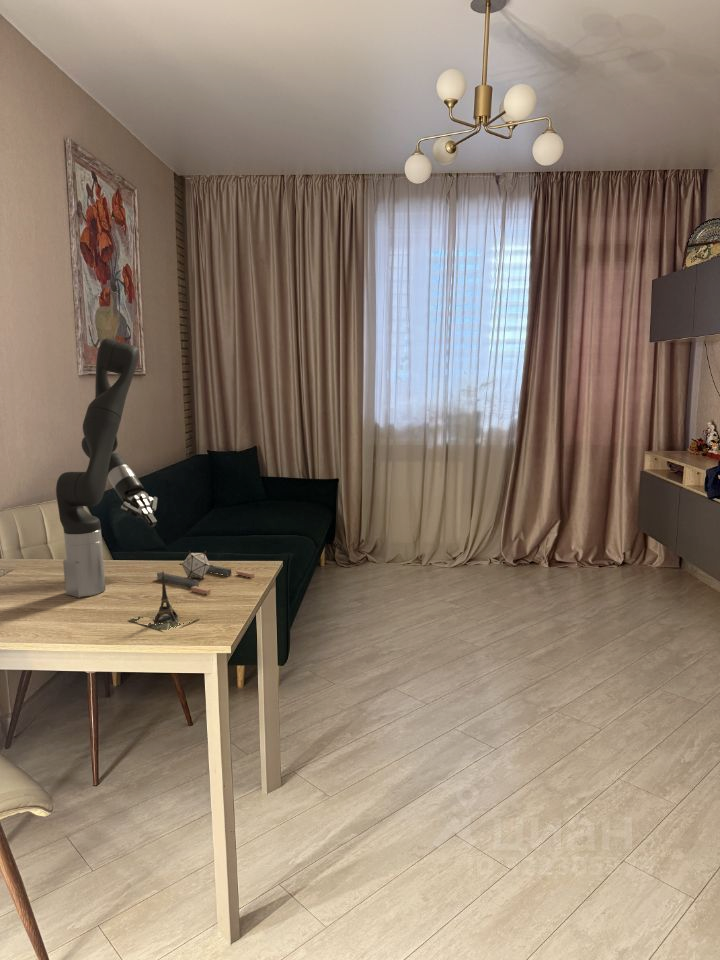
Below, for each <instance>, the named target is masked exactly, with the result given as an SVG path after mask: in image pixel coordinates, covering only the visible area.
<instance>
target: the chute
mask: <svg viewBox="0 0 720 960" xmlns="http://www.w3.org/2000/svg"><path fill="white" fill-rule="evenodd" d="M162 572H163V571H159V572H156V578H157V580H158V581H161V582H162ZM209 572H212V573H211V574H214V573H218V574H223V575H228V576H229V575H231V576H232V569H231V568H227V567H224V566H223V567H222V566H219V565H218V566H217V565H213V567H211V566H210V568H209V569H208V571H207V572H206V573H209ZM218 574H217V575H218ZM223 575H222V576H223ZM228 576H227V577H228ZM229 577H230V576H229ZM164 579H165V583H170V584H173V585H174V584H175V585H179V586H183V587H186V586H187V587H188V588H191V587H194V586H197V587H200V586H199V580H197V579H193V578H190V577H189V578H187V577H185V576H184V577H183V576H179V575H176V574H170V573H166V572H164Z"/></svg>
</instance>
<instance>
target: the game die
mask: <svg viewBox="0 0 720 960" xmlns="http://www.w3.org/2000/svg"><path fill="white" fill-rule="evenodd" d="M206 553H207V550H204V551H203V552H191V550H188V555H187V556H186V558H185V559H184V560H183V562H182V563H181V562H180V563H178V565H179V566H182V568H183V570H184V572H185V574H186V578H189V579H190V578H202V580H205V577H204V576H206V574H207V573H208V572H207V571H208V569H209V568H210V566H211V567H213V566H214V565H213V564H210V562H209V559H208V558H207V555H206Z"/></svg>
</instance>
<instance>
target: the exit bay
mask: <svg viewBox="0 0 720 960" xmlns="http://www.w3.org/2000/svg"><path fill="white" fill-rule="evenodd" d="M235 572H236V573H235V574H238V575H242V576H241V577H243V576H246V577H245V578H248V577H250V578H249V579H254V578H255V573H254V572H249V571H246V570H240V569H239V570H235ZM238 575H237V576H238ZM253 577H254V578H253ZM190 588H191V592H192V591H193V592H192V593H196V592H198V593H197V594H200V593H202V594H201V595H204V594H209V595H211V589H209V588H205V587H201V586H199V587H197V586H194V587H190Z"/></svg>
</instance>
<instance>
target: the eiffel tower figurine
mask: <svg viewBox="0 0 720 960" xmlns="http://www.w3.org/2000/svg"><path fill="white" fill-rule="evenodd" d="M161 572H162V581H161V582H162V583H161V585H162V586H161V587H162V588H161V589H162V590H161V592H162V593H161V599H160V600H161V603H160V606H159V608H158V612H157V614H156V615H155V616H154V617H155V620H154V619H153V620H154V624H151V623H149V624H148V626H147V627H148V628H150V629H155V630H157V631H160V630H167V629H168V630H169V629H170V628H171V627H173V628H174V627H175V626H176V627H177V626H180V625H181V624H180V623H179V625H178V623H177V621H179V618H178V617H180V614H179V613H177V612H176V611H175V610H174V608H173V606H172V605H171V604H170V601H169V597H168V594H167V587H166V582H165V579H164V573H165V572H164V571H161ZM164 604H165V605H164ZM134 618H135V617H133V618H130V619H127V621H128V622H132V623H134V622H135V621H137V620H139V619H140V618H138V619H134ZM197 621H198V620H196V621H194V622H192V623H195V622H197ZM159 623H160V624H159ZM161 623H163V624H161ZM189 623H190V622H189ZM192 623H191V624H192ZM155 624H156V625H155ZM183 624H184V623H183ZM170 626H171V627H170ZM176 627H175V628H176Z"/></svg>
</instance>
